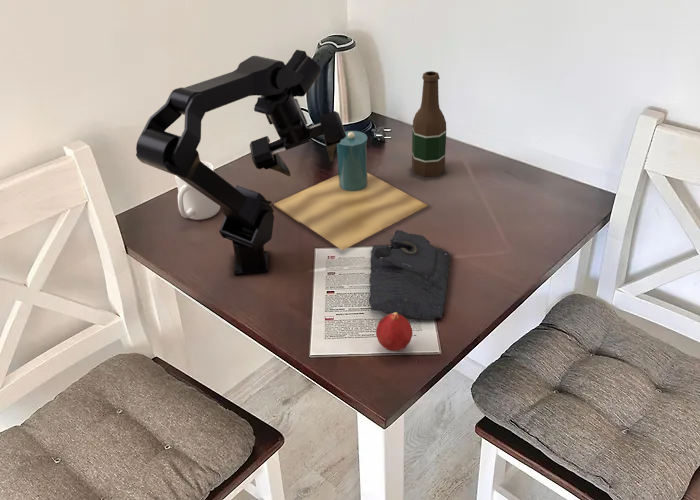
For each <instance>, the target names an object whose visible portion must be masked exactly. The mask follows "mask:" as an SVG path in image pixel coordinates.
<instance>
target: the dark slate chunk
mask: <svg viewBox="0 0 700 500" xmlns="http://www.w3.org/2000/svg"><path fill="white" fill-rule="evenodd" d="M370 253H371V255H370V273H369V297H368V302H369V306H370V308H371V309H372V310H373V311H379V312H384V313H387V314H391V313H395V312H397V314H400V315H402V316H406V317H409V318H414V319H422V320H428V321H429V320H435V319H442V317H443V314H444V309H445V303H446V297H447V289H448V279H449V275H450V274H449V273H450V270H449V269H450V260H451V259H450V258H451V255H450V252H449V251H447V250H444V249H442V248H436V247H435V246H434V245H433V244H431V241H430V240H429V239H427V238H426V237H425V236H424V235H422V234H416V233H411V232H410V233H408V232H406V231H403V230H400V229H397V230H395V232H394V234H393V236H392V237H391V238H390V246H389V245H388V244H375V245H372V249H371V250H370Z"/></svg>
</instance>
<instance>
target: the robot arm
mask: <svg viewBox="0 0 700 500" xmlns="http://www.w3.org/2000/svg"><path fill="white" fill-rule="evenodd" d="M321 73H322V68H321V66H320V64H318V63H317V61H316V60H315V59H313V58H312V57H310V56H309V55H308V54H307V52H306V50H300V49H295V51H294V52H293V54H292V55H291V57H290V58H289V60H288V61H287V62H286V64H285V62H284V61H283V60H278V59H274V58H269V57H265V56H259V55H252V56H250V57H248V58H246V59H244V60H243V61H241V62H240V63H239V64H238V65H237V67H236V69H234V70H233V71H230V72H227V73H224V74H221V75H218V76H215V77H213V78H209V79H206V80H203V81H201V82H198V83H194V84H191V85H188V86H185V87H178V88H174V89H173V90H172V91H171V92H170V94H169V95H168V98H167V100H166V101H165V103H164V104H163V105H162V106H161V107H159V109H157V111H155V112H154V113H153V114H152V115H151V116H150V117H149V118H148V120H147V121H146V124H145V126H143V129H142V131H141V132H140V133H141V134H140V135H139V137H138V139H137V142H136V147H135V150H136V153H135V156H136V158H137V160H139V162H141V163H142V164H145V165H147V166H149V167H153V168H155V169H158V170H160V171H163V172H165V173H168V174H171V175H173V176H175V175H176V176H178V177H179V178H180V179H182V180H183V181H185V182H186V183H188V184H189V185H191V186H192V187H193V188H195V189H196V190H198V191H199V192H201V193H202V194H203V195H205V196H206V197H208V198H209V199H211V200H212V201H213V202H215V203H216V204H218V205H219V206H220V208H222V214H223V215H224V218H223V221H222V223H221V226H220V228H219V231H218V232H219V234H220V236H221V237H222V238H223V239H226V240H229V241H231V242H232V247H233V253H234V266H233V275H234V276H242V275H243V276H244V275H253V274H262V273H268V272H269V252H268V250H265V247H264V245H266V244H267V243H268V242H269V241H271V240H272V238H273V229H274V222H275V215H274V212H275V210H274V208H273V206H272V205H271V204H272V201H271V200H268V199H266V197H265V196H264V195H263V194H262V193H260V192H257V191H255V190H252V189H249V188H246V187H244V186H240V185H237V184H236V185H235V186H233V185H232V184H231V183H230V182H228V181H227V180H226V179H225V178H223V177H222V176H221V175H219V174H218V173H217V172H215V170H214V171H213V170H211V169H210V168H209V167H207V166H206V165H205V164H203V163H202V162H201V161H202V160H201V159H200V154H199V151H198V150H197V148H198V147H199V145H200V143H201V140H202V121H203V119H204V117H205V114H206V113H208V112H211V111H213V110H217V109H219V108H222V107H224V106H227V105H229V104H232V103H235V102H237V101H240V100H243V99H245V98H248V97H252V96H258V97H257V101H256V103H255V104H254V107H253V111H254V112H255V113H259V114H263V115H265V117H266V120H267V122H268V124H269V125H273V127H274V129H275V131H276V133H277V136H278V137H279V139H278V140H276V141H273V142H271V140H270V138H269V136H268V135H265V136H263V137H260V138H257V139H255V140H252V141H251V142H250V143H249V150H250V155H251V160H252V163H253V165H254V167H255V168H256V169H258V170H262V169H265V170H273V171H276V172H278V173H281V174H283V175H285V176H287V177H291V172H290V169H289V167H288V166H287V164H286V163H285V161H284V160H283V158H282V157H281V155H280V153H282V152H285V151H287V150H290V149H294V148H296V147H299V146H301V145H305V144H308V143H310V140H312V139H315V138H317V137H321V136H322V135H323V139H324V143H325V147H326V151H327V155H328V158H329V160H330V162H333V160H334V153H335V150H336V148H337V144H338V143H340V142H341V140H342V139H344V138H345V137H346V134H345V132H346V130H345V127H344V125H343V121H342V118H341V115H340V113H339V112H338V111H335V110H333V111H331V112H328V113H325V114H323V115H320V116H318V119H319V123H316V124H314V125H311V126H309V127H308V121H307V118H306V116H305V114H304V111H303V110H302V108H301V106H300V105H301V104H300V103H299V100H298V99H297V97H305V95H307V93H308V92H309V90H310V89H311V87H312V86H313V85H314V83H315V82H316V81H317V79H318V78H320V76H321ZM182 115H184V126H183V127H184V129H183V132H182V133H181V135H177V134H174V133H171V132H167V131H166V130H167V129H168V128H170V126H172V125H173V124H174V123H175V122H177V120H178V119H180V118H181V116H182Z"/></svg>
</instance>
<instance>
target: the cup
mask: <svg viewBox="0 0 700 500" xmlns="http://www.w3.org/2000/svg"><path fill="white" fill-rule="evenodd" d="M200 161H201V162H202V163H203V164H205V165H206V166H207V167H209V168H210V169H211V170H213V171H214V172H215V166H214V165H213V164H212V163H210V162H209V161H205V160H200ZM174 178H175V182H176V187H177V192H178V193H177V206H178V212H179V214H180V215H181V217H183V218H184V219H191V220H195V221H200V220H206V219H210V218H212V217H214V216H216V215H217V214H218V213H219V212H220V210H221V206H219V205H218V204H216V203H215V202H213V201H212V200H211V199H209V198H208V197H206V196H205V195H203V194H202V193H201V192H199V191H198V190H196V189H195V188H193V187H192V186H191V185H189V184H188V183H186V182H185V181H183V180H182V179H180V178H179V177H178V176H176V175H174Z"/></svg>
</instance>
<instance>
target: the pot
mask: <svg viewBox="0 0 700 500" xmlns="http://www.w3.org/2000/svg"><path fill="white" fill-rule="evenodd" d="M345 134H346V137H345V138H344V139H342V140H341V142H340V143H338V144H337V145H336V156H337V157H336V158H337V159H336V160H337V171H338V172H337V175H338V177H339V186H340V187H341V188H342V189H344V190H347V191H358V190H362V189H364V188H365V187H366V186H367V184H368V178H367V173H368V149H367V147H368V146H367V143H368V136H367V134H366V133H364V132H362V131H358V130H348V131H347V130H346V131H345Z"/></svg>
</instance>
